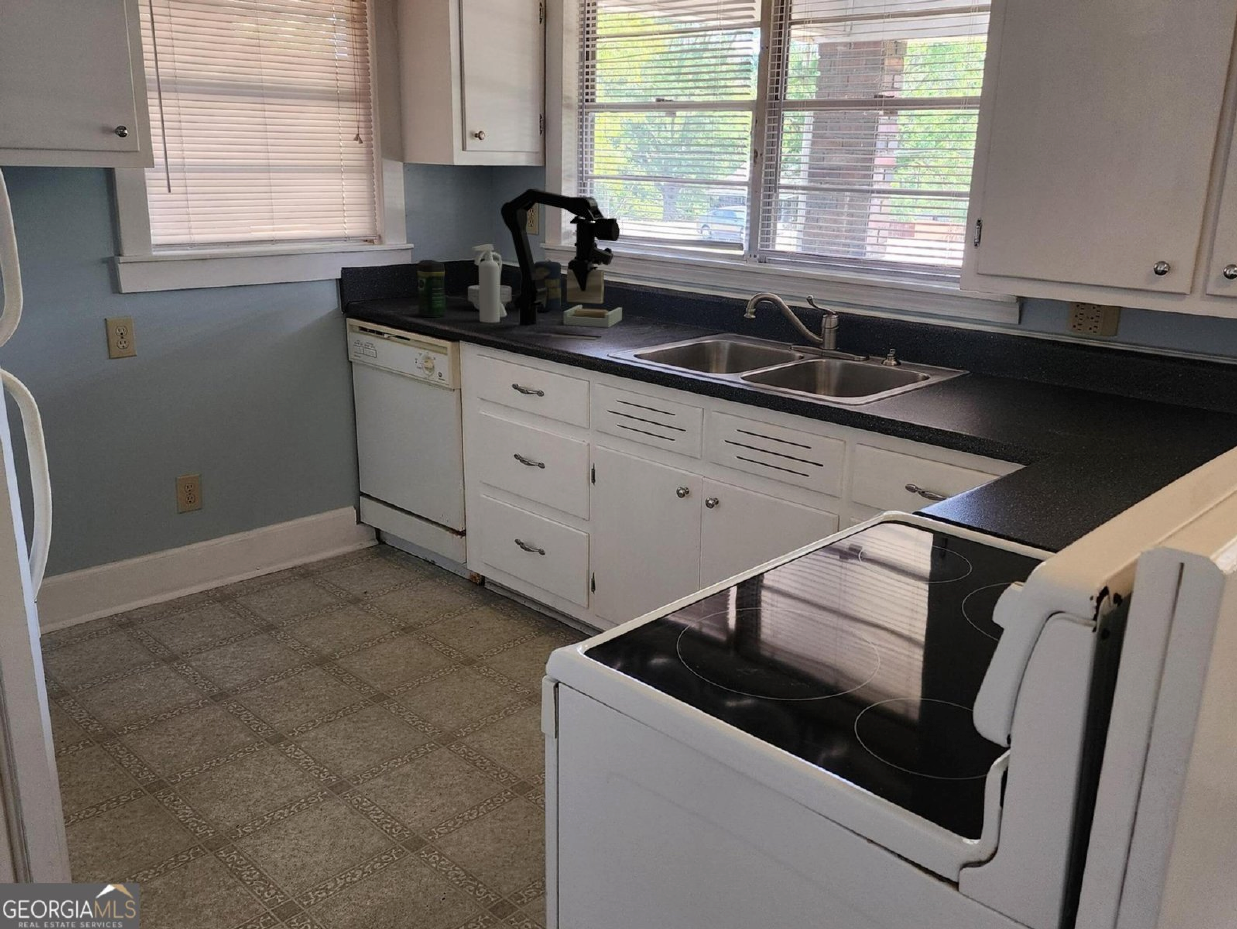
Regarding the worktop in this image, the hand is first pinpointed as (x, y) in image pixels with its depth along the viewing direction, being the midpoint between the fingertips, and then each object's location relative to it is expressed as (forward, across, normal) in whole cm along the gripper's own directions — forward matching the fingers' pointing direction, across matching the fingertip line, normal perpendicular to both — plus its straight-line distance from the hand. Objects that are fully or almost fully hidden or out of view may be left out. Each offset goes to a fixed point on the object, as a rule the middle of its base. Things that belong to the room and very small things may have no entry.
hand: (584, 290), depth 328 cm
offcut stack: (+12, +10, +1) cm, 16 cm away
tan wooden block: (+4, 0, 0) cm, 4 cm away
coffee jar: (+13, +13, +56) cm, 59 cm away
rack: (+13, +14, +1) cm, 19 cm away
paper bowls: (+13, +35, +44) cm, 57 cm away
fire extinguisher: (+13, +10, +34) cm, 38 cm away
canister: (+13, +38, +24) cm, 47 cm away
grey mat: (+13, -5, 0) cm, 14 cm away
